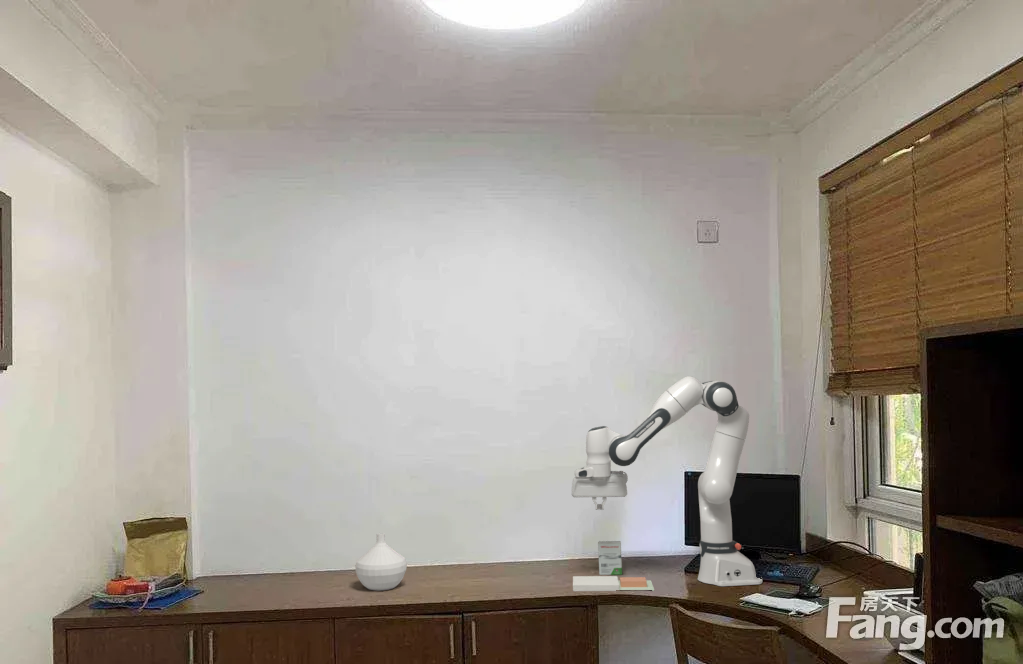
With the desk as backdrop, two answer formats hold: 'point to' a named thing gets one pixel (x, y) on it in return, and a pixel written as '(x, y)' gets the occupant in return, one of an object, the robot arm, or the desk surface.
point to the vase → (381, 566)
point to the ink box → (610, 558)
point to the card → (633, 582)
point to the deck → (595, 583)
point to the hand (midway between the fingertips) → (599, 509)
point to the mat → (649, 587)
